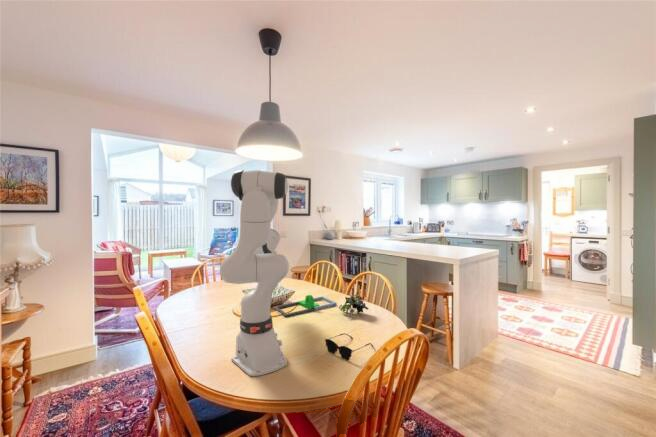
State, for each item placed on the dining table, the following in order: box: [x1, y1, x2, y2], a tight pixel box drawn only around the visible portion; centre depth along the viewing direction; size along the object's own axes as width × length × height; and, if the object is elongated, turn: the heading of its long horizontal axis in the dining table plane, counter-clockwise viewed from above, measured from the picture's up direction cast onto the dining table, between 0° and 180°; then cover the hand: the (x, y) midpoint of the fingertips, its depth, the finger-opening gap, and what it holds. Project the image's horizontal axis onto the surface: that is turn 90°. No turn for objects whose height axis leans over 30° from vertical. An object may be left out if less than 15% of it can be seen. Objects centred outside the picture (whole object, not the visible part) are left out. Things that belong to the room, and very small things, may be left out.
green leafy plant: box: [338, 294, 369, 317], centre depth 148 cm, size 13×12×14 cm
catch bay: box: [301, 295, 337, 311], centre depth 165 cm, size 15×15×2 cm
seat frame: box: [273, 300, 316, 318], centre depth 156 cm, size 16×18×1 cm
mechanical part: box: [298, 294, 320, 309], centre depth 162 cm, size 12×6×8 cm, turn 39°
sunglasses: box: [324, 332, 374, 361], centre depth 111 cm, size 14×16×5 cm
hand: (285, 271), depth 153 cm, fingers closed
